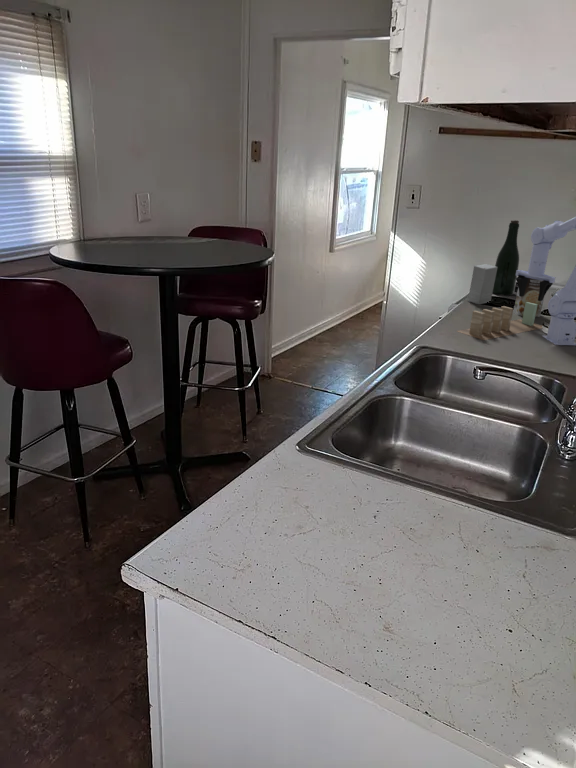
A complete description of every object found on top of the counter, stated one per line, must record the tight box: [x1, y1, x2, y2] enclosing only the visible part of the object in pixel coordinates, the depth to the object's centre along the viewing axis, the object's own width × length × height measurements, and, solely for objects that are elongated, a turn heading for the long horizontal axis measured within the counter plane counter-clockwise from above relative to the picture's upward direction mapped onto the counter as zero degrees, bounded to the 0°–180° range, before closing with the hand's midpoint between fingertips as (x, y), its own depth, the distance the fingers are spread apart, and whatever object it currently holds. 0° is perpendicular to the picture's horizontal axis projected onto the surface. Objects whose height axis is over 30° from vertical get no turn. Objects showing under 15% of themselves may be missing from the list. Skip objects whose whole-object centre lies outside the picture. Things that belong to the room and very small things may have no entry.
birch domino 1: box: [469, 310, 485, 336], centre depth 208 cm, size 2×4×8 cm, turn 35°
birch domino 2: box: [481, 308, 495, 334], centre depth 211 cm, size 2×4×8 cm, turn 35°
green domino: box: [521, 302, 538, 326], centre depth 224 cm, size 2×4×8 cm, turn 35°
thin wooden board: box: [456, 318, 543, 341], centre depth 218 cm, size 37×12×1 cm, turn 125°
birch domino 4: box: [500, 305, 514, 331], centre depth 216 cm, size 2×4×8 cm, turn 34°
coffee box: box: [513, 277, 545, 318], centre depth 238 cm, size 9×6×16 cm
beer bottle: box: [492, 219, 520, 296], centre depth 272 cm, size 10×10×33 cm
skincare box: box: [467, 263, 497, 305], centre depth 256 cm, size 8×7×16 cm
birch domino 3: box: [491, 307, 504, 332], centre depth 214 cm, size 2×4×8 cm, turn 35°
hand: (530, 298), depth 223 cm, fingers open, 7 cm apart
